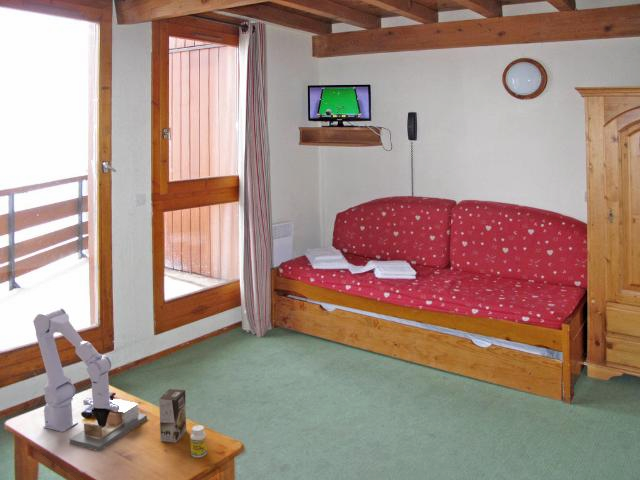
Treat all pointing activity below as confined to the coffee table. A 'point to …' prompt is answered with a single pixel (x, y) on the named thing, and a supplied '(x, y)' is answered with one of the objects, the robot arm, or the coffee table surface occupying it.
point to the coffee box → (172, 415)
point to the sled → (99, 430)
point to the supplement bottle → (198, 441)
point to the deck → (108, 439)
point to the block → (114, 418)
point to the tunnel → (127, 411)
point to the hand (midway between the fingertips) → (102, 426)
